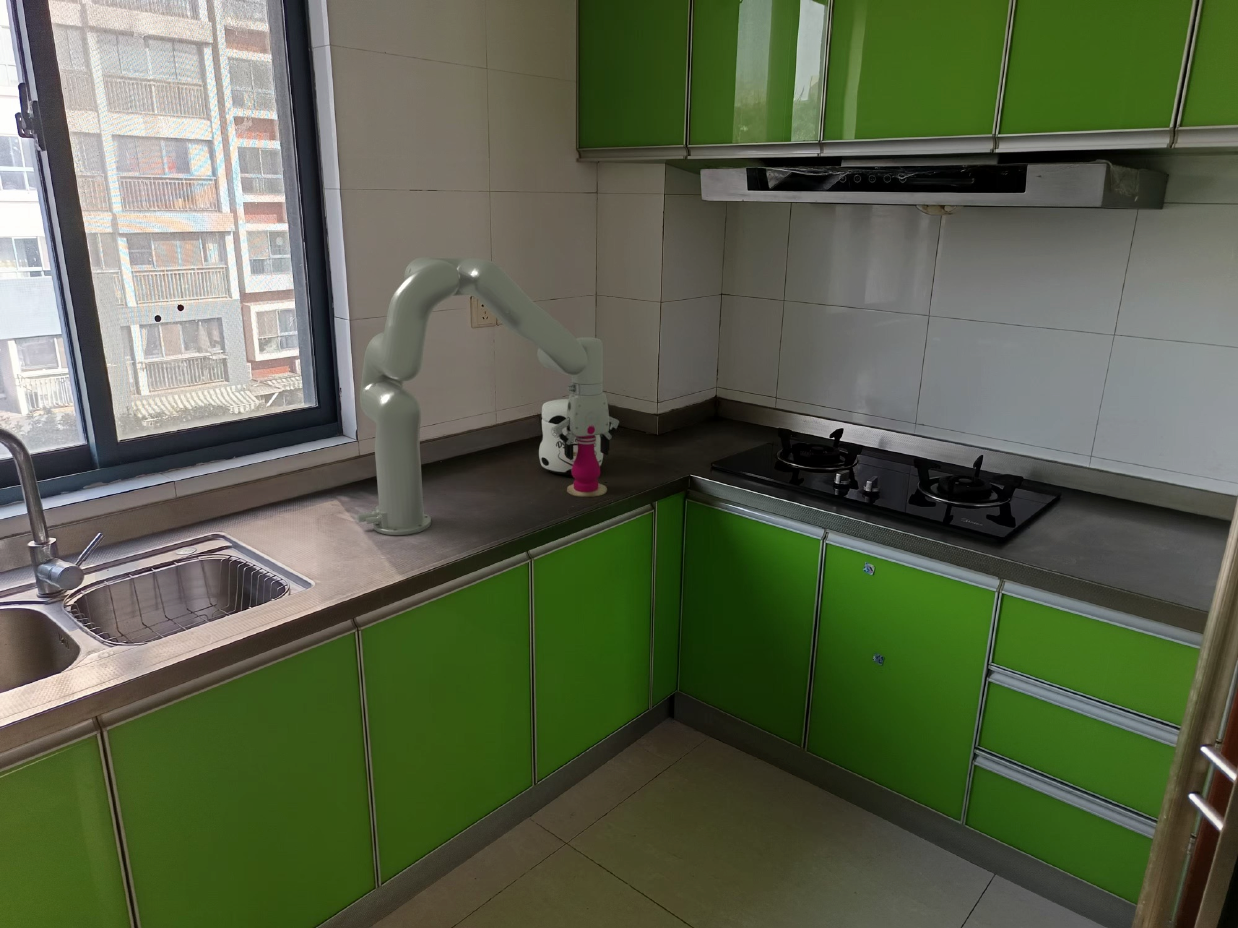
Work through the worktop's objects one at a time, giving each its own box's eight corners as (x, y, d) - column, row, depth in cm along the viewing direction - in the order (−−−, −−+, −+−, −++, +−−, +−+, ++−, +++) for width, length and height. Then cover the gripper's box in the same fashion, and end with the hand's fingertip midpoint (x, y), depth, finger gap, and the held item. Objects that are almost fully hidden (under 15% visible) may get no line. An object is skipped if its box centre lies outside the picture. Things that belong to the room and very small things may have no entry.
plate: (577, 499, 218) (577, 496, 218) (560, 487, 226) (560, 485, 226) (613, 493, 222) (613, 491, 222) (595, 482, 231) (595, 479, 231)
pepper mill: (605, 486, 225) (606, 410, 219) (590, 494, 219) (590, 415, 213) (581, 482, 229) (581, 406, 223) (566, 489, 223) (565, 412, 217)
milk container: (575, 483, 230) (575, 416, 224) (525, 471, 240) (524, 406, 234) (615, 468, 243) (616, 404, 238) (567, 457, 253) (567, 395, 248)
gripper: (561, 395, 210) (561, 464, 215) (625, 388, 217) (624, 455, 222) (548, 389, 216) (549, 456, 221) (611, 383, 224) (610, 448, 229)
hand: (587, 456), depth 222 cm, fingers open, 9 cm apart
